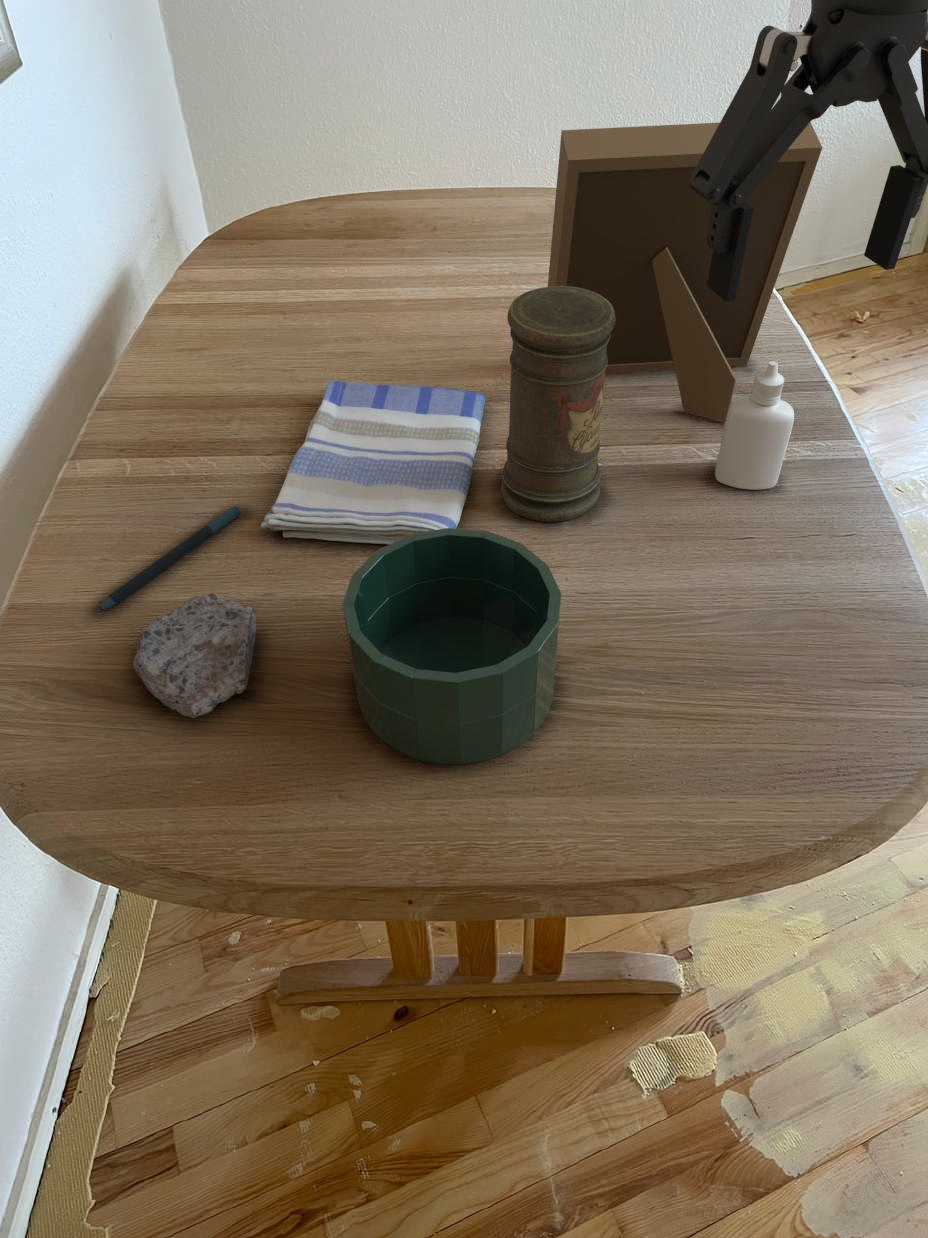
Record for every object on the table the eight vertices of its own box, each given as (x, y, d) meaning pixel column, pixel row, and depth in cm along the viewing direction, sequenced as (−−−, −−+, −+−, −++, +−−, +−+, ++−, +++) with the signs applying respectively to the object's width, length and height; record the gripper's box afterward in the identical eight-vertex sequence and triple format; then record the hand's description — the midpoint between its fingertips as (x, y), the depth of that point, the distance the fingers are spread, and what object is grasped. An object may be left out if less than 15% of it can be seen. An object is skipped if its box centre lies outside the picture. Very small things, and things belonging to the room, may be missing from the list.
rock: (262, 615, 73) (253, 578, 71) (248, 722, 66) (236, 685, 63) (152, 621, 73) (138, 585, 70) (125, 729, 66) (107, 693, 63)
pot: (580, 739, 64) (591, 654, 58) (377, 785, 62) (364, 701, 56) (520, 599, 74) (523, 513, 68) (343, 634, 72) (329, 548, 65)
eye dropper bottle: (730, 456, 87) (756, 342, 79) (783, 480, 84) (817, 363, 76) (706, 478, 85) (730, 362, 76) (760, 502, 82) (791, 385, 74)
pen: (96, 613, 74) (91, 603, 74) (234, 512, 83) (232, 502, 82) (104, 618, 74) (100, 608, 73) (243, 516, 83) (240, 506, 82)
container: (490, 514, 82) (490, 328, 69) (515, 457, 88) (520, 276, 75) (588, 531, 80) (607, 344, 67) (607, 472, 86) (629, 289, 73)
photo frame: (541, 357, 101) (552, 108, 83) (735, 346, 101) (788, 97, 84) (561, 434, 90) (578, 169, 72) (777, 420, 91) (847, 155, 73)
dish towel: (260, 540, 80) (254, 515, 78) (328, 394, 96) (324, 371, 94) (454, 557, 78) (453, 532, 76) (490, 405, 94) (490, 381, 92)
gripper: (1021, -106, 58) (909, 230, 73) (667, -72, 52) (627, 283, 68) (1115, -87, 53) (975, 270, 68) (735, -47, 47) (675, 330, 63)
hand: (801, 277), depth 68 cm, fingers open, 13 cm apart
